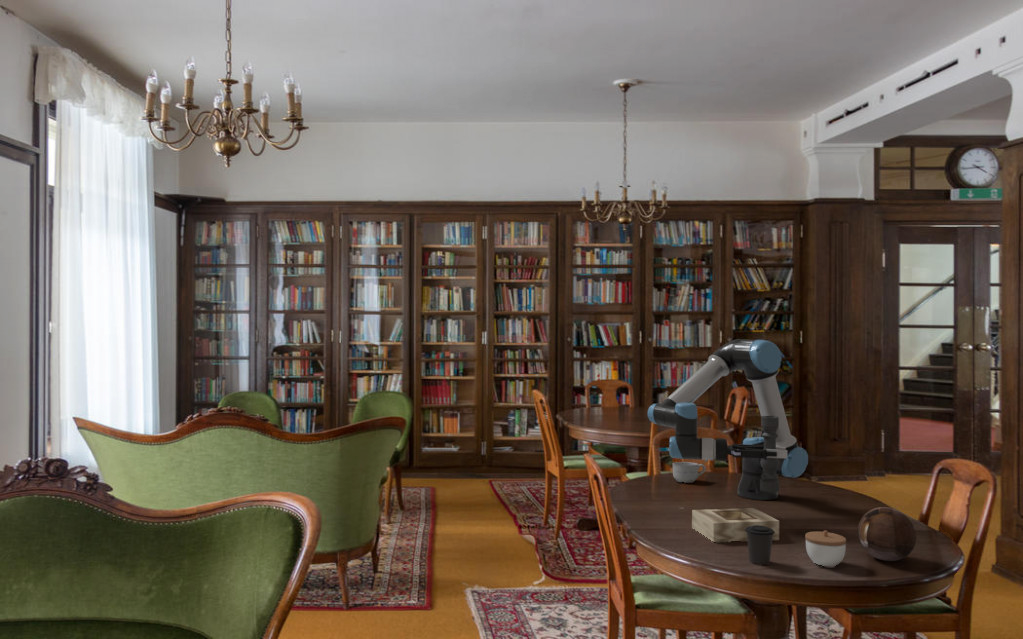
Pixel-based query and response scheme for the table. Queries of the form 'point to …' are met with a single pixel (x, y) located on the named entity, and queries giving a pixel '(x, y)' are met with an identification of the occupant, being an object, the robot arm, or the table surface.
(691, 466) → the teacup
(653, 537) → the table surface
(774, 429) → the candle holder
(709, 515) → the socket block
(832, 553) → the lidded jar
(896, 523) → the clear glass sphere
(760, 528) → the coffee cup
